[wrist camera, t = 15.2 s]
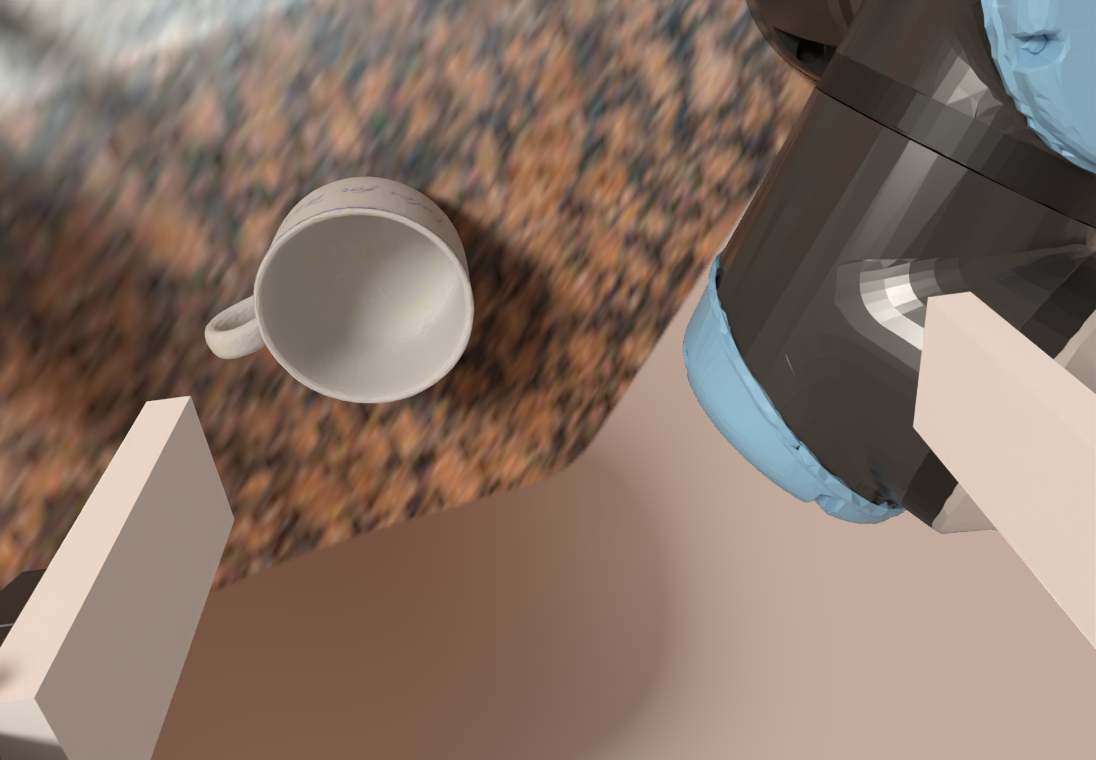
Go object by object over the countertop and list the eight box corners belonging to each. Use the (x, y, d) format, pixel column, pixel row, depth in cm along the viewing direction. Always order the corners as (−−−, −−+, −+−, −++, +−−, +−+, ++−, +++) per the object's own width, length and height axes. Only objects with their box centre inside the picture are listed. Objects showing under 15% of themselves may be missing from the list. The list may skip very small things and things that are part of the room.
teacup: (461, 152, 49) (461, 198, 42) (481, 331, 54) (484, 399, 47) (201, 174, 48) (157, 224, 41) (247, 353, 53) (215, 425, 46)
